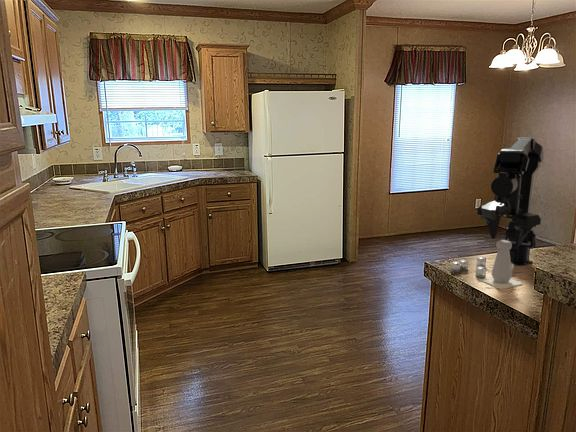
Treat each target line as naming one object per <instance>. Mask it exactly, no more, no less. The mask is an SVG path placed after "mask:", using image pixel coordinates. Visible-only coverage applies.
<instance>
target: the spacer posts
mask: <svg viewBox="0 0 576 432" xmlns="http://www.w3.org/2000/svg"><path fill="white" fill-rule="evenodd" d="M475 265H476V267H475V278H477V279H486V278H487V277H486V275H487V268H486V267H487V257H485V256H476V264H475ZM511 268H512V275H513V274H514V269H515V264H514V263H511ZM468 270H469V261H468V260H467V259H459V260H458V261H451V262H450V273H454V274H460V273H461V272H467V271H468Z"/></svg>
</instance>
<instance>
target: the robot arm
mask: <svg viewBox="0 0 576 432" xmlns="http://www.w3.org/2000/svg"><path fill="white" fill-rule="evenodd" d="M543 160H544V148H543V145H541V144H540V143H538V142H537V141H536V138H534V137H533V136H530V137H529V136H528V137H527V136H523V137H522V136H521V137H520V136H519V137H517V138H516V141H515V143H514V144H513V145H512V146H511V147H505V148H501V150H500V151H499V152H498V153H497V156H496V160H495V164H494V167H493V170H492V171H493V174H498V177H495V178H494V179H493V181H492V182H491V184H490V189H491V192H492V194H493V195H494V197H493V201H489V202H487V203H486V204H484V205H479V206H478V208H477V215H478V216H480V218H481V219H482V220H483V221H484V222H486V224H487V225H486V226H487V228H488V231H489V235H490V238H491V239H492V240H495V239H496V238H497V237H496V236H497V235H498V230H499V225H500V222H501V217H502V218H507V219H511V220H510V221H509V223H508V225H507V226H508V227H506V230H505V240H507V241H510V242H511V243H512V248H511V249H509V251H510V259H511V263H513V264H514V265H518V266H522V265H523V266H524V265H527V264H532V263H533V262H534V261H532V260H530V253H531V249H533V248H536V246H537V235H536V233H535V230H534V228H536V227H537V226H540V225H541V222H542V221H541V219H542V218H541V216H540V215H539V214H536V213H531V212H530V209H531V203H532V202H531V201H532V193H533V185H534V176H535V174H536V173H537V171H538V170H539V169H540V167H541V163H543Z"/></svg>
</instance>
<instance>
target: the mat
mask: <svg viewBox="0 0 576 432" xmlns="http://www.w3.org/2000/svg"><path fill="white" fill-rule="evenodd" d="M479 281H480V282H482V283H484V284H487V285H488V286H489V285H490V286H491V287H494V288H497V289H498V290H503V289H504V290H505V289H508V288H514V287H518V286H522V285H524V283H523V282H520V281H519V280H515V279H513V278H511V279H510V281H509V282H508V283H506V284H503V283H497V282H494V279H493V276H492V277H486V278H483V279H482V278H479Z"/></svg>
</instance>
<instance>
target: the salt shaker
mask: <svg viewBox="0 0 576 432" xmlns="http://www.w3.org/2000/svg"><path fill="white" fill-rule="evenodd" d="M495 247H496V248H497V253H496V255H495V260H494V263H493V267H492V269H491V276H492V277H493V279H494V282H497V283H503V284H506V283H508V282H509V281H510V279H512V277H513V274H512V268H511V259H510V251H509V249H511V248H512V243H511V242H510V241H507V240H506V239H499V240H498V241H496V243H495Z"/></svg>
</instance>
